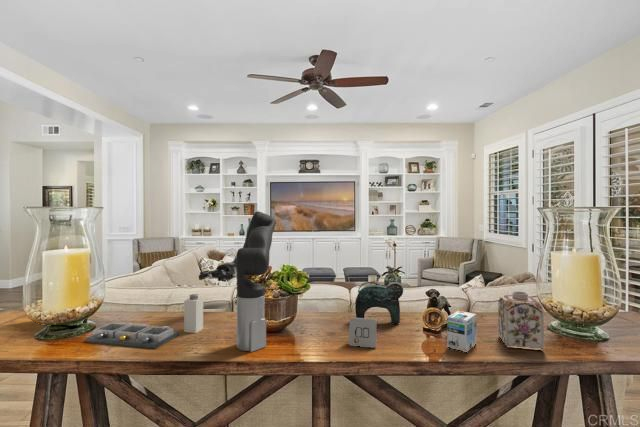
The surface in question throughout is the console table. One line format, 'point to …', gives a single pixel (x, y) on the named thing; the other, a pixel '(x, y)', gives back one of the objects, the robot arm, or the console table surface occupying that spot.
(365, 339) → the electrical switch
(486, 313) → the console table surface
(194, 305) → the white tall block
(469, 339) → the light bulb box
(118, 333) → the breaker board
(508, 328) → the decorative jar
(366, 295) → the dark green figurine
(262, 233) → the robot arm
